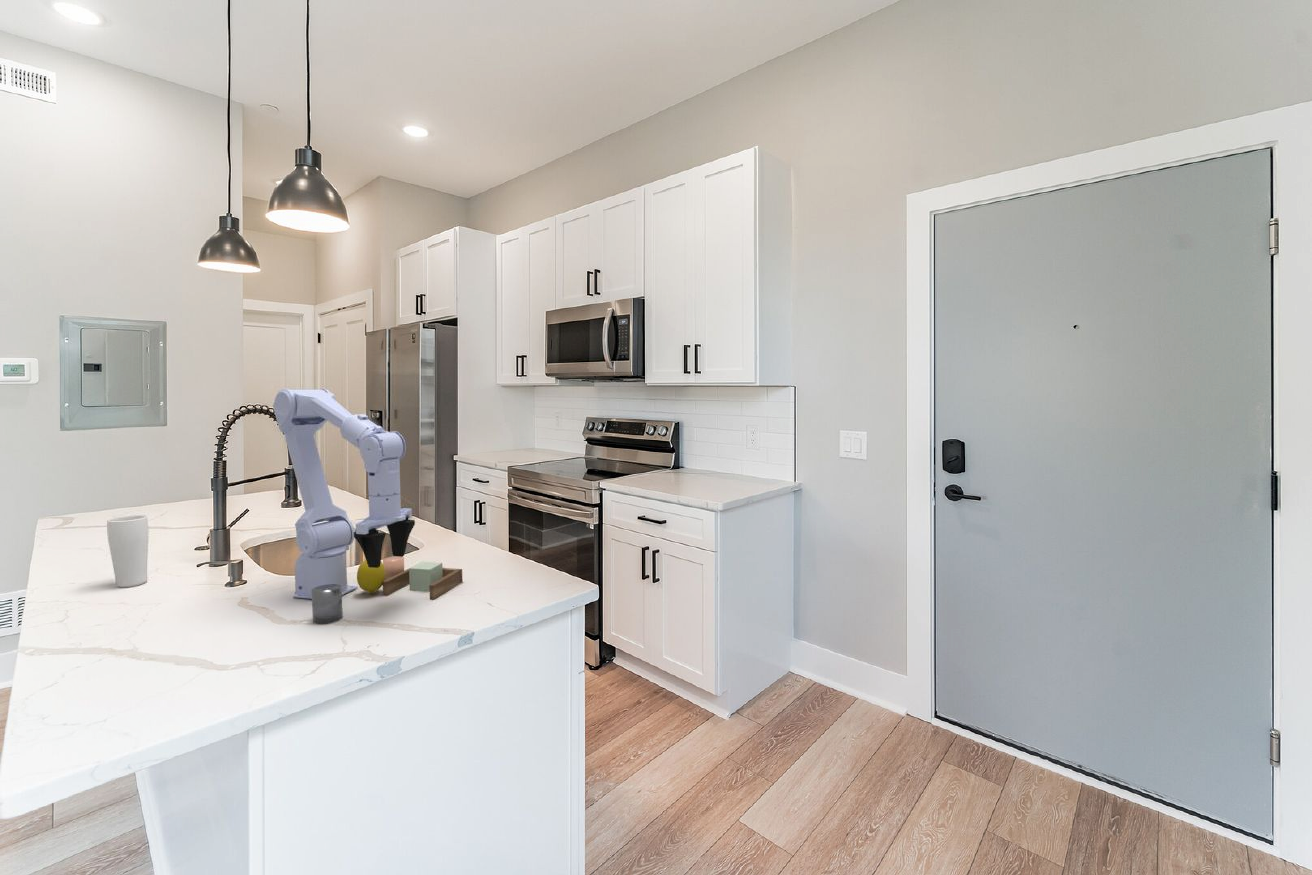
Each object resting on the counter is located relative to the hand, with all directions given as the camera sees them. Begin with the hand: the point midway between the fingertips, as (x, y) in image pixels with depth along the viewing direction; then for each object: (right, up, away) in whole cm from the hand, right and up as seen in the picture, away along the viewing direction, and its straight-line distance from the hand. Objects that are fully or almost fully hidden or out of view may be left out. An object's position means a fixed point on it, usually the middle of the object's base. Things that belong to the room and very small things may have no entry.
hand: (386, 561), depth 118 cm
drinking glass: (-63, -8, +15) cm, 66 cm away
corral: (+2, -9, +13) cm, 15 cm away
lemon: (-7, -9, +9) cm, 15 cm away
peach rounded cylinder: (-7, -8, +18) cm, 21 cm away
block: (+3, -9, +14) cm, 16 cm away
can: (-9, -10, -4) cm, 14 cm away
